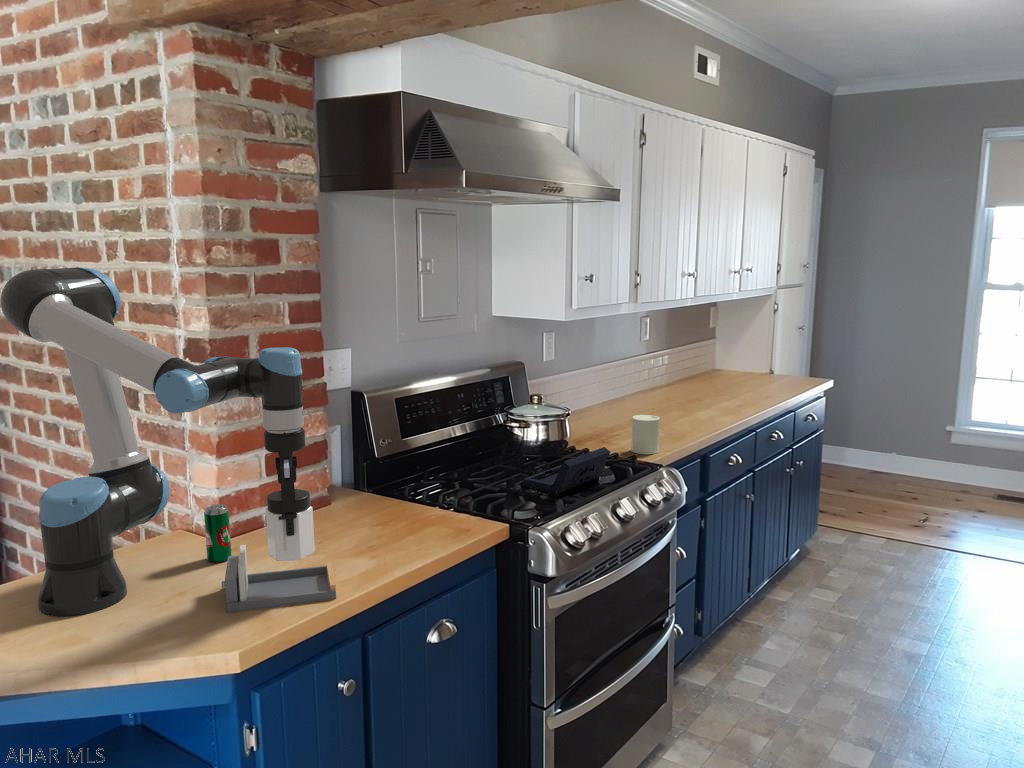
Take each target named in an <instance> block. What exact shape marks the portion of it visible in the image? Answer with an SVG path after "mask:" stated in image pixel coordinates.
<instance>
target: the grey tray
mask: <svg viewBox="0 0 1024 768" xmlns="http://www.w3.org/2000/svg"><path fill="white" fill-rule="evenodd" d="M238 564H239V555H232V556H228V560H227V561H226V567H225V568H226V569H225V574H224V575H225V576H224V581H225V587H224V589H225V602H226V603H225V608H226V609H225V610H226V613H227V614H231V613H239V612H246V611H247V612H248V611H254V610H261V609H262V610H263V609H268V608H269V609H270V608H276V607H284V606H285V607H286V606H293V605H301V604H307V603H306V602H309V603H314V602H313V601H317V602H324V601H329V600H330V599H332V600H337V588H336V579H335V575H334V569H333V564H332V561H326V563H325V565H321V566H313V567H304V568H295V569H294V568H293V569H285V570H275V571H268V572H267V571H266V572H258V573H250V574H248V590H247V601H240V588H239V586H238V580H239V572H238ZM321 600H322V601H321ZM323 600H324V601H323ZM300 603H301V604H300Z"/></svg>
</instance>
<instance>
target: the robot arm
mask: <svg viewBox="0 0 1024 768" xmlns="http://www.w3.org/2000/svg"><path fill="white" fill-rule="evenodd" d="M121 303H122V302H121V296H120V291H119V289H118V287H117V285H116V284H115V282H114V281H113V280H112V279H111V278H110V276H108V275H107V274H104V272H102V271H100V270H98V269H94V268H87V267H85V268H84V267H79V266H76V267H66V268H65V267H63V268H46V269H45V268H44V269H41V268H39V269H34V268H33V269H28V270H24V271H21V272H19V273H17V274H15V275H14V276H12V277H11V278H10V279H9V280H8V281H7V282H6V284H4V286H3V289H2V291H1V294H0V307H1V311H2V314H3V316H4V317H5V319H6V320H7V322H9V324H10V325H11V326H13V327H14V329H16V330H17V331H18V332H20V333H21V334H24V335H25V336H28V337H29V338H32V339H34V340H35V341H37V342H41V343H50V342H52V343H55V344H56V345H59V346H60V347H62V349H63V352H64V356H65V360H66V364H67V366H68V371H69V374H70V378H71V383H72V385H73V389H74V392H75V396H76V400H77V404H78V408H79V410H80V411H79V412H80V415H81V419H82V422H83V425H84V429H85V433H86V437H87V442H88V444H89V448H90V451H91V456H92V459H93V463H92V465H91V466H90V468H89V469H88V471H87V473H88V476H83V477H76V478H73V479H68V480H65V481H61V482H58V483H56V484H55V485H52V486H50V487H48V488H47V489H46V490H45V491H44V492H43V493H42V494H41V495H40V498H39V505H38V507H39V510H38V511H39V513H38V519H39V520H38V521H39V525H40V530H41V531H40V532H41V538H42V548H43V556H44V564H45V568H44V569H45V571H44V575H43V579H42V583H41V587H40V590H39V593H38V599H37V600H38V601H37V602H38V611H39V613H41V614H42V615H44V616H48V617H54V618H70V617H78V616H79V617H80V616H85V615H89V614H93V613H97V612H100V611H103V610H106V609H108V608H111V607H113V606H115V605H117V604H118V603H120V602H121V601H123V599H125V598H126V596H127V595H128V588H127V581H126V579H125V578H124V575H123V573H122V571H121V569H120V567H119V565H118V563H117V562H116V559H115V555H114V545H113V538H114V537H116V536H120V535H121V534H122V533H125V532H127V531H129V530H131V529H133V528H135V527H138V526H140V525H144V524H146V523H147V522H150V521H152V520H153V518H155V517H157V516H158V515H160V514H161V513H162V512H163V511H164V509H165V508H166V506H167V504H168V502H169V499H170V494H171V493H170V490H171V489H170V483H169V480H168V477H167V475H166V473H164V471H162V470H161V468H160V467H159V466H157V465H155V464H152V463H151V458H150V456H149V455H148V454H145V452H143V451H141V450H140V448H139V445H138V441H137V438H136V434H135V430H134V427H133V426H134V425H133V422H132V418H131V414H130V410H129V407H128V403H127V400H126V396H125V392H124V388H123V384H122V380H121V378H120V376H121V377H123V378H124V379H126V380H128V381H131V382H132V383H134V384H136V385H138V386H140V387H142V388H144V389H146V390H148V391H150V392H152V393H154V395H155V398H156V400H157V402H158V403H159V404H160V406H161V407H162V408H163V409H164V410H165V411H166V412H169V413H172V414H182V413H191V412H195V411H198V410H199V409H200V410H201V409H203V408H205V407H208V406H212V405H215V404H218V403H221V402H225V401H227V400H232V399H235V398H257V399H258V398H261V405H262V406H261V410H262V411H261V412H262V413H261V414H262V426H263V429H265V431H264V432H263V440H264V441H263V442H264V450H265V451H266V452H268V453H274V454H275V453H278V456H277V457H276V456H275V458H274V459H275V460H274V461H275V469H276V471H277V472H276V473H277V483H278V484H279V485H280V490H281V496H282V516H281V517H279V520H282V528H283V545H284V552H286V551H287V536H293V535H294V520H293V519H295V518H297V514H296V505H295V489H296V488H295V483H296V482H297V468H298V460H297V455H294V454H293V453H294V452H298V451H301V450H303V449H304V448H305V447H306V430H305V429H304V428H303V427H304V425H305V419H304V416H306V415H308V411H307V410H306V409H304V401H303V398H304V397H303V376H302V375H303V369H302V361H301V354H300V352H299V350H298V349H296V348H294V347H289V346H287V347H286V346H285V347H282V346H281V347H268V348H263V349H260V351H259V352H258V354H259V355H258V358H257V357H255V358H251V357H249V358H248V357H233V356H231V357H230V356H225V355H224V356H218V357H217V356H215V357H213V356H212V357H209V358H207V359H206V360H205V362H204V363H203V364H198V365H197V364H193V363H191V362H188V361H186V360H184V359H182V358H179V356H176V355H174V354H172V353H170V352H168V351H166V350H164V349H162V348H160V347H158V346H157V345H154V344H152V343H149V342H148V341H146V340H144V339H142V338H140V337H138V336H136V335H134V334H131V333H130V332H127V331H126V330H123V329H121V328H119V327H117V326H116V325H115V322H114V319H116V317H117V316H118V315H119V313H120V311H119V310H120V309H121V305H122V304H121ZM286 512H287V513H286Z"/></svg>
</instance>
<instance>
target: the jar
mask: <svg viewBox="0 0 1024 768" xmlns="http://www.w3.org/2000/svg"><path fill="white" fill-rule="evenodd" d="M266 503H267V504H266V505H267V508H265V521H266V535H267V536H266V537H267V538H266V539H267V540H266V541H267V554H268V555H269V556H270V557H272V559H273V560H275V561H276V562H284V561H286V562H287V561H301V560H303V559H304V558H306V557H308V556H310V555H311V554H313V553H315V552H316V548H315V533H314V532H315V530H314V529H315V528H314V511H313V509H314V507H313V506H311V493H310V492H309V491H308V490H304V489H298V488H295V505H296V514H297V518H295V519H293V520H294V535H293V536H287V551H286V552H284V545H283V528H282V520H279V517H281V516H282V496H281V489H279V490H276V491H273V492H271V493H269V494H268V495H267V496H266ZM286 513H287V512H286Z"/></svg>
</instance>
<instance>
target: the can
mask: <svg viewBox="0 0 1024 768" xmlns="http://www.w3.org/2000/svg"><path fill="white" fill-rule="evenodd" d="M660 421H661V419H660V416H657V415H653V414H652V415H651V414H637V415H632V417H631V425H632V426H631V449H630V452H632V453H633V454H636V455H648V456H649V455H656V454H658V453H659V452H660V450H659V449H660V448H659V446H660V443H659V442H660V439H659V437H660Z"/></svg>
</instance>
